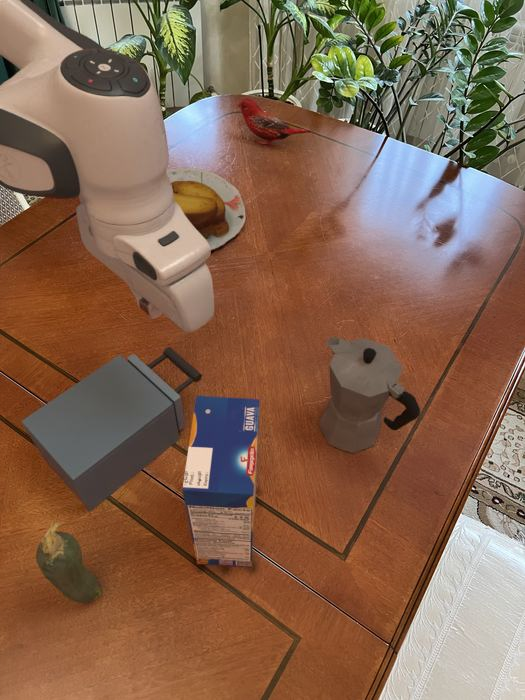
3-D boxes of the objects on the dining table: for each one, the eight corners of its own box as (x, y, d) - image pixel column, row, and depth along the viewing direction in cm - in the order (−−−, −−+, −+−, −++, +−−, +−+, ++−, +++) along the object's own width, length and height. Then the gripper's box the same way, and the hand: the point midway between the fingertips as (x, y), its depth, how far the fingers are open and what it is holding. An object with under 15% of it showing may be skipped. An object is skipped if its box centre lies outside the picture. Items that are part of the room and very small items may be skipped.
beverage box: (197, 565, 72) (182, 490, 55) (206, 484, 79) (196, 395, 62) (251, 568, 72) (253, 494, 55) (256, 486, 79) (259, 398, 62)
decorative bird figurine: (239, 134, 133) (239, 92, 125) (311, 153, 129) (315, 111, 121) (234, 140, 132) (233, 99, 124) (306, 159, 128) (310, 117, 120)
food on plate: (222, 170, 124) (222, 143, 119) (265, 242, 110) (266, 215, 105) (106, 194, 118) (100, 167, 113) (135, 274, 104) (130, 247, 99)
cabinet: (130, 392, 88) (119, 353, 80) (179, 439, 83) (173, 403, 76) (41, 456, 81) (20, 421, 73) (89, 512, 76) (72, 480, 69)
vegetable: (72, 617, 68) (20, 561, 52) (65, 582, 70) (13, 519, 55) (109, 601, 69) (69, 543, 53) (100, 568, 72) (59, 502, 56)
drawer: (167, 365, 90) (162, 333, 84) (212, 404, 86) (209, 374, 80) (59, 443, 81) (44, 414, 75) (103, 491, 77) (91, 465, 71)
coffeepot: (295, 416, 86) (305, 340, 72) (337, 382, 90) (355, 304, 76) (374, 487, 79) (402, 418, 65) (416, 446, 83) (451, 373, 69)
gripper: (51, 189, 62) (80, 280, 73) (173, 284, 54) (185, 371, 65) (99, 166, 65) (120, 256, 76) (222, 253, 57) (225, 341, 67)
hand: (151, 310), depth 70 cm, fingers closed
